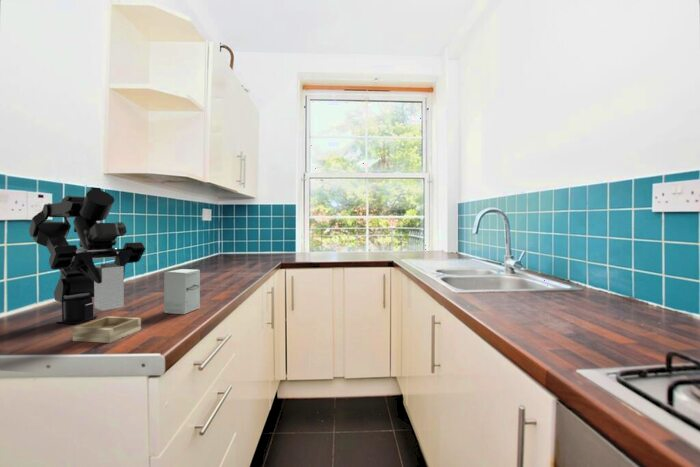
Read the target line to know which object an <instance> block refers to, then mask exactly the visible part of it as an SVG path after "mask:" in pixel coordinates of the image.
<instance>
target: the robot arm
mask: <svg viewBox="0 0 700 467" xmlns="http://www.w3.org/2000/svg"><path fill="white" fill-rule="evenodd" d="M114 202H115V198H114V196H113V195H111V194H110V193H109V192H107V191H103V190H102V189H101V187H90V189H89V191H87V192H86V194H85V196H79V195H78V196H77V195H76V196H75V195H66V196H64V197H63V198H61V202H60V201H59V202H53V203H49V202H48V203H44V204H43V208H42V210H40V211H39V213H37V214H35V215H34V216H33V217H32V218H31V222H30V225H29V228H28V229H29V230H28V232H29V236H30V237H31V238H32V239H33V241H34V242H35V243H36V244H38V245H41V246H44V247H45V248H46V249H47V250H48V252H49V255H50V256H49V260H48V264H49V266H50V269H52V270H53V271H54V270H59V272H60V276H59V280H58V282H57V284H56V286H55V289H54V291H53V297H54V301H56V302H59V303H61V319H59V320H58V319H57V320H56V321H55V322H56V324H68V325H69V324H71V325H72V324H73V325H78V324H81V323H84V322H85V323H86V322H88V321H91V320H93V319H96V318H97V319H98V315H94V302H93V298H94V281H95V282H96V283H98V284H99V283H100V282H101V279H100V275H99V273H98V271H97V269H96V267H95V266H96V265H95V262H94V260H101V259H113V263H115V264H117V265H120V266H124V274H125V272H126V271H125V270H126V265H127V264H132V263H138V262H140V260H141V258H142V256H144V253H145V251H146V246H145V245H144V243H143V242H140V241H135V242H125V243H124V245H123V248H117V247H114V246H116V245H117V240H116V239H117V238H119V237H123V236H125V234H126V233H127V232H128V231H127V226H126V224H125V223H124V222H122V221H121V222H120V221H119V222H118V221H117V222H102V221H104V220H107V219H108V216H109V214H110V211H111V210H112V208H113V205H114ZM49 218H63V220H64V221H47V220H48V219H49ZM69 218H70V219H71V218H74V219H73V226H74V227H73V232H74V233H77V237H78V239H79V243H78V246H79V247H78V246H77V245H76V244H70V243H69V242H68V240H67V237H68V236H69V232H70V230H71V226H72V225H71V223H70V221H69Z"/></svg>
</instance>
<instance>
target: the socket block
mask: <svg viewBox="0 0 700 467" xmlns="http://www.w3.org/2000/svg"><path fill="white" fill-rule="evenodd" d="M95 267H96V269H97V271H98V273H99V275H100V279H101V282H100V283H99V284H98V283H96V282H95V281H94V297H93V299H94V302H93V309H97V310H99V311H103V312H104V311H109V310H114V309H119V308H124V307H125V306H124V305H125V299H124V298H125V296H124V295H125V294H124V293H125V291H124V290H125V288H124V287H125V284H124V281H125V273H124V266H120V265H117V264H115V263H114V262H110V263H109V262H108V263H100V265H97V266H96V265H95Z"/></svg>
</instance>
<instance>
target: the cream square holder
mask: <svg viewBox="0 0 700 467" xmlns="http://www.w3.org/2000/svg"><path fill="white" fill-rule="evenodd" d="M141 330H142V318H141V317H130V316H129V317H127V316H111V315H110V316H108V315H107V316H105V317H104V316H103V317H101V318H97V319H95V320H92V321H90V322H87V323H86V322H85V323H83V324H79V325H78V326H74V327H72V341H73V342H87V343H90V342H91V343H104V344H105V343H107V344H110V343H113V342H115V341H118V340H120V339H122V337H123V338H125V337H127V336H130V335H132V334H134V333H137V332H139V331H141Z"/></svg>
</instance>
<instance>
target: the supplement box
mask: <svg viewBox="0 0 700 467" xmlns="http://www.w3.org/2000/svg"><path fill="white" fill-rule="evenodd" d="M163 274H164V275H163V277H164V278H163V280H164V282H163V286H164V287H163V293H164V294H163V297H164V298H163V300H164V301H163V304H164V305H163V308H164V312H163V313H164V314H174V315H186V314H188V313H191V312H194V311H195V310H199V309H200V308H201V304H200V303H201V270H200V269H194V268H193V269H191V268H190V269H189V268H180V269H175V270H168V271H164V272H163Z"/></svg>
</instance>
